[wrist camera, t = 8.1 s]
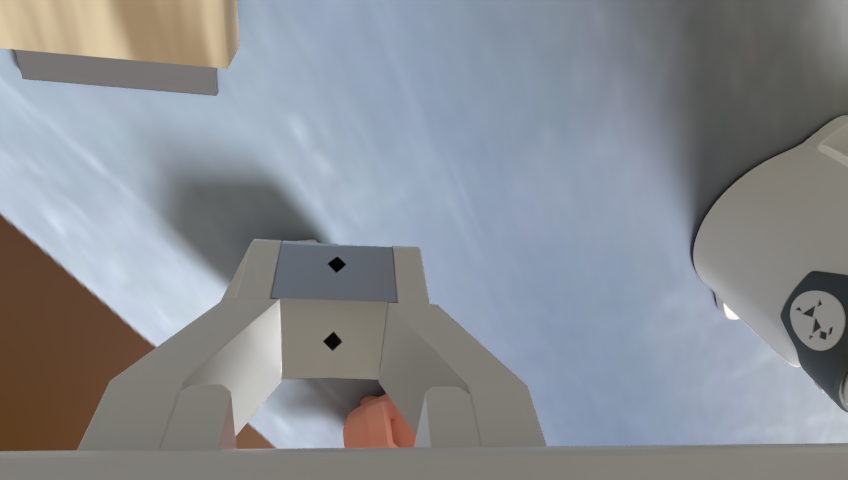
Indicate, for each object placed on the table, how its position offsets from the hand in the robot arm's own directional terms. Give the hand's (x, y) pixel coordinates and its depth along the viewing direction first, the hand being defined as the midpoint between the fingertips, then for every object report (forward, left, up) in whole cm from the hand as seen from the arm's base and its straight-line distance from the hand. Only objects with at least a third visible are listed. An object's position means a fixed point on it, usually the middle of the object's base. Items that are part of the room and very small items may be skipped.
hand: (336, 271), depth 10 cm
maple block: (+5, 0, -22) cm, 22 cm away
